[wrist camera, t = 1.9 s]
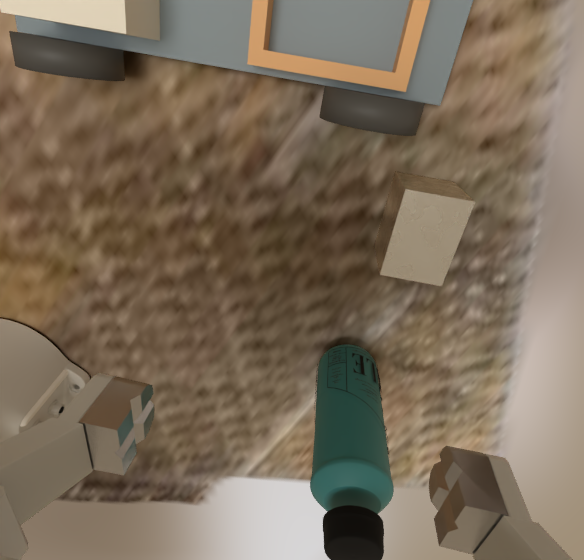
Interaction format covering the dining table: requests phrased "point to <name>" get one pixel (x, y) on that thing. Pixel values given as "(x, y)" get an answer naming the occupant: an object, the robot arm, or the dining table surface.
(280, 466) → the dining table surface
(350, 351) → the beverage bottle
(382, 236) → the block
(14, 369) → the robot arm
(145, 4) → the chassis
